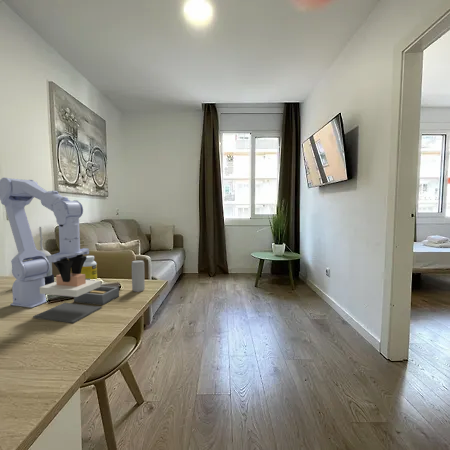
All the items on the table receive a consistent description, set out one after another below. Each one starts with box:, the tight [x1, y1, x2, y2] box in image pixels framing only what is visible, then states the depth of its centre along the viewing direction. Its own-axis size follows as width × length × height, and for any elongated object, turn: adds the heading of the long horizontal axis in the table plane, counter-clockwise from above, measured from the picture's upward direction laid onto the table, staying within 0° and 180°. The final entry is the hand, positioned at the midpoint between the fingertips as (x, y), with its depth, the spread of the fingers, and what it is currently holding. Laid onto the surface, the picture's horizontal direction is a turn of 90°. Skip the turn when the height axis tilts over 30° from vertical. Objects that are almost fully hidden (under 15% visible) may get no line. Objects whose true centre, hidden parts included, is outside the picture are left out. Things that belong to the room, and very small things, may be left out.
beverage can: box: [131, 259, 146, 293], centre depth 109 cm, size 5×5×12 cm
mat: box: [32, 302, 103, 324], centre depth 87 cm, size 15×12×1 cm
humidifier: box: [38, 226, 55, 285], centre depth 119 cm, size 8×8×25 cm
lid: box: [40, 272, 102, 298], centre depth 87 cm, size 14×11×5 cm
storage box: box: [73, 285, 120, 306], centre depth 99 cm, size 12×9×4 cm
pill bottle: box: [81, 255, 98, 280], centre depth 121 cm, size 6×6×12 cm
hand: (71, 279), depth 87 cm, fingers closed on lid, 3 cm apart
